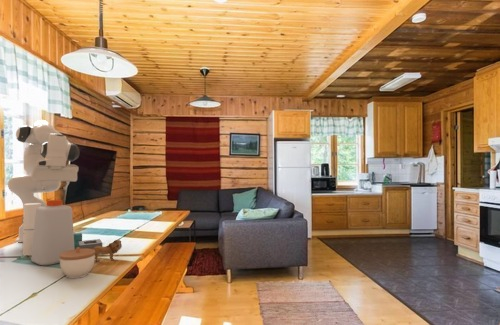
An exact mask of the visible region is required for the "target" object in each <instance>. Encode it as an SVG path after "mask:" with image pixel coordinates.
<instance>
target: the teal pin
mask: <svg viewBox="0 0 500 325" xmlns="http://www.w3.org/2000/svg"><path fill="white" fill-rule="evenodd" d="M78 241H83V233H82V232H75V233H74V248H75V249H76V248H77V247H78Z"/></svg>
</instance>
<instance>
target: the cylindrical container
mask: <svg viewBox="0 0 500 325" xmlns="http://www.w3.org/2000/svg"><path fill="white" fill-rule="evenodd" d="M38 207H41V203H28V204H24V211H23V216H22V219H23V223H22V224H23V242H22V256H24V255H31V256H32V246H33V236H34V226H35V216H36V209H37V208H38Z"/></svg>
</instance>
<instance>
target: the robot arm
mask: <svg viewBox="0 0 500 325" xmlns="http://www.w3.org/2000/svg"><path fill="white" fill-rule="evenodd" d="M15 137H16V140H17V141H18V142H21V143H22V144H23V143H24V144H25V143H26V144H28V145H26V147H25V148H24V152H23V170H24V171H25V172H26V173H27V174H18V175H13V176H11V177H10V178H9V179H8V181H7V182H8V183H7V186H8V190H9V191H10V192H11V193H12V194H15V195H16V196H17V197H18V198H19V199H20V202H21V203H22V209H23V210H22V211H23V212H24V204H28V203H41V207H42V206H47V202H46V201H45V200H43V199H42V198H38V197H36V196H35V195H34V194H38V193H39V194H42V193H44V194H45V193H52V192H56V191H58V190H59V189H60V187H61V184H62V182H65V183H66V185H65V186H63V191H67V190H68V189H67V188H68V186H69V184H70V182H77V181H78V172H79V168H80V167H79V166H78V165H76V164H69V163H67V162H75V160H77V159H78V158H79V156H80V154H81V153H80V147H78V145H77V144H76V143H73V142H72V141H71V140H70V139H69V138H68V137H67V136H66V135H65V134H63V133H61V132H59V131H58V130H56V128H54V126H53V125H52V124H51V123H50V122H49V121H46V120H44V119H41V120H37V121H35V122H34V123H33V126H31V125H29V124H27V125H21V126H19V127H18V128H17V129H16V132H15ZM21 220H22V222H21V223H22V224H21V225H20V226H19V228H18V237H17V238H16V239H14V243H19V242H20V243H23V218H22V219H21Z"/></svg>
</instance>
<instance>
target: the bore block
mask: <svg viewBox="0 0 500 325" xmlns="http://www.w3.org/2000/svg"><path fill="white" fill-rule="evenodd" d="M97 246H101V247H103V242H102V240H101V239H100V238H97V239H87V240H82V241H78V247H80V249H84V248H87V249H93V248H95V247H97Z"/></svg>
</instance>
